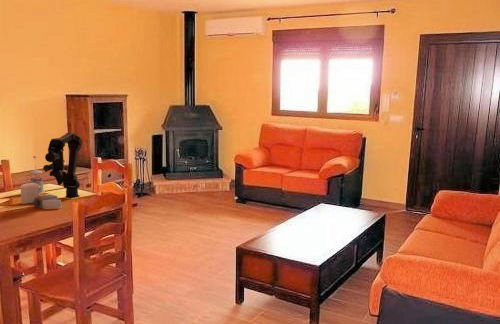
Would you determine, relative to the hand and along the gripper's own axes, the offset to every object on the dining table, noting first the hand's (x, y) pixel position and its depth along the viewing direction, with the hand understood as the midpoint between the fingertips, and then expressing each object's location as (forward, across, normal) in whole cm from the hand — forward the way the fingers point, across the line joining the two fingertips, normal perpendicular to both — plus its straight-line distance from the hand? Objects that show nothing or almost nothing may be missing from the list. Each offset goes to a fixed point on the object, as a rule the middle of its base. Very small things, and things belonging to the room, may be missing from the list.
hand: (60, 184), depth 263 cm
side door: (+12, +11, -2) cm, 17 cm away
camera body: (+12, +4, -7) cm, 15 cm away
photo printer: (+12, -4, -19) cm, 23 cm away
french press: (+12, -31, -24) cm, 41 cm away
